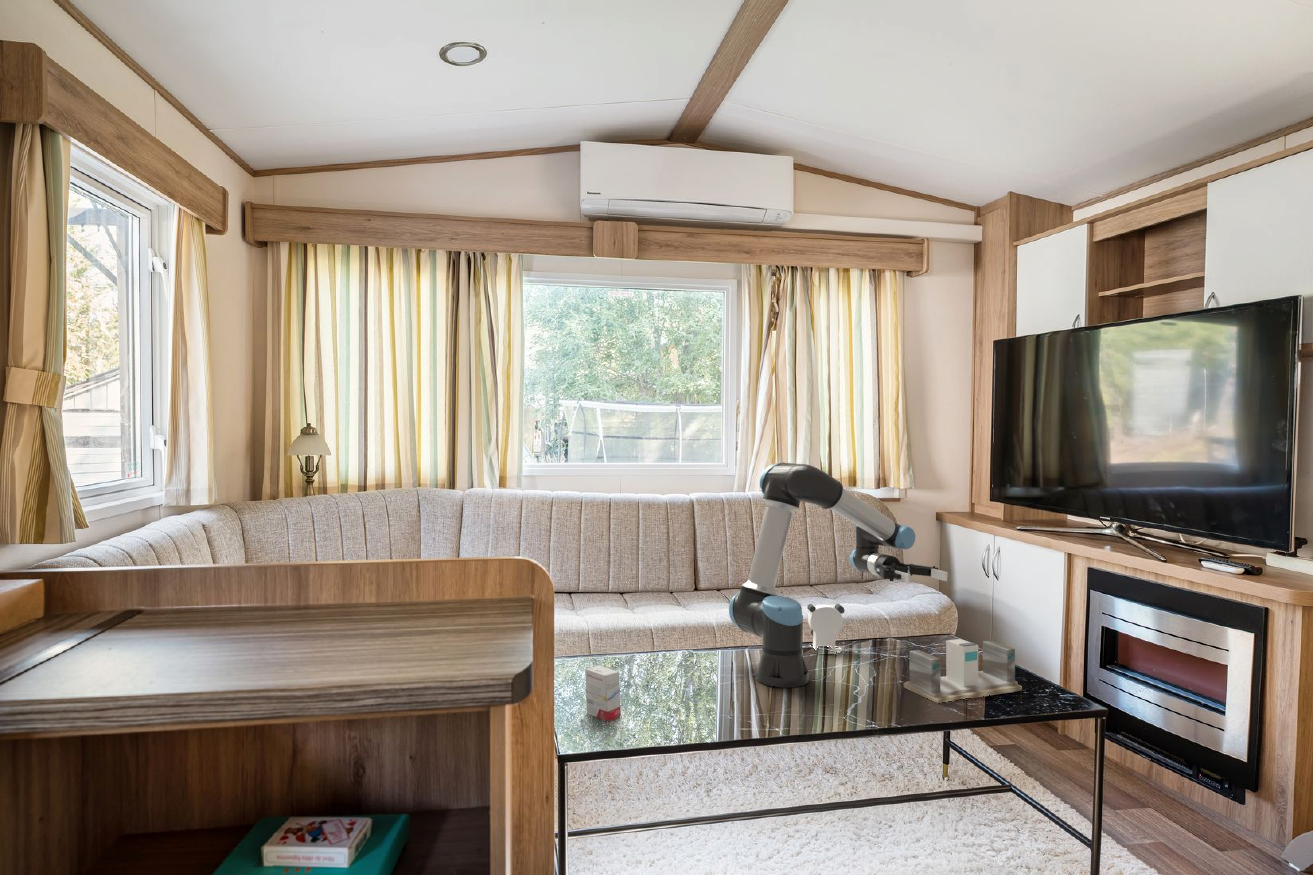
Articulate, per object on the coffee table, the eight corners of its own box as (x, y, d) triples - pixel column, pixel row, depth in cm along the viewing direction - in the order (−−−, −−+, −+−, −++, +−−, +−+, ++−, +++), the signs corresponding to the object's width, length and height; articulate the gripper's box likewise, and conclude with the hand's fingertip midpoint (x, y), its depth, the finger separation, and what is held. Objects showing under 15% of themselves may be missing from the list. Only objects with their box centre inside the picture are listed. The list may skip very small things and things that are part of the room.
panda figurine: (838, 644, 258) (838, 600, 258) (848, 654, 246) (848, 608, 246) (803, 645, 257) (803, 601, 257) (812, 655, 246) (811, 609, 246)
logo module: (964, 686, 210) (964, 646, 209) (946, 678, 216) (946, 639, 216) (978, 684, 211) (978, 644, 211) (960, 676, 218) (960, 637, 218)
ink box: (621, 717, 194) (621, 671, 194) (606, 722, 191) (606, 676, 191) (599, 708, 201) (599, 664, 200) (584, 713, 197) (584, 668, 197)
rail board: (937, 703, 202) (937, 662, 202) (903, 686, 216) (903, 648, 215) (1021, 690, 212) (1021, 651, 212) (984, 674, 225) (984, 638, 225)
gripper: (916, 575, 252) (961, 588, 232) (851, 579, 244) (893, 592, 224) (916, 553, 252) (961, 563, 232) (852, 555, 244) (893, 567, 223)
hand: (928, 577), depth 228 cm, fingers open, 13 cm apart
